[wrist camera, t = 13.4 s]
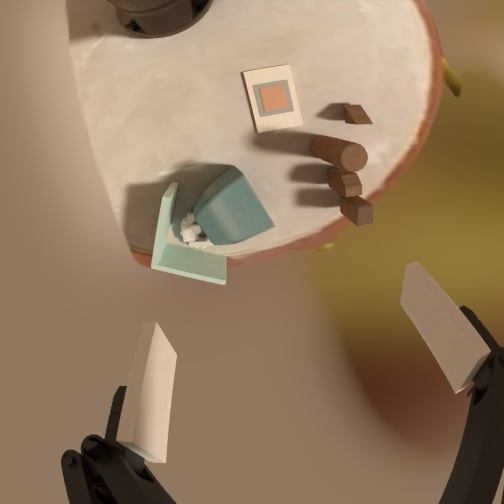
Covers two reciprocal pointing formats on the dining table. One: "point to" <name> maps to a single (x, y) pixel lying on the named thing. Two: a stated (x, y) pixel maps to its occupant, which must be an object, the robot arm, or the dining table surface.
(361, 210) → the wooden block set
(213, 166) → the dining table surface
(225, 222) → the flower pot
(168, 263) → the right angle wall
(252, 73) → the card
